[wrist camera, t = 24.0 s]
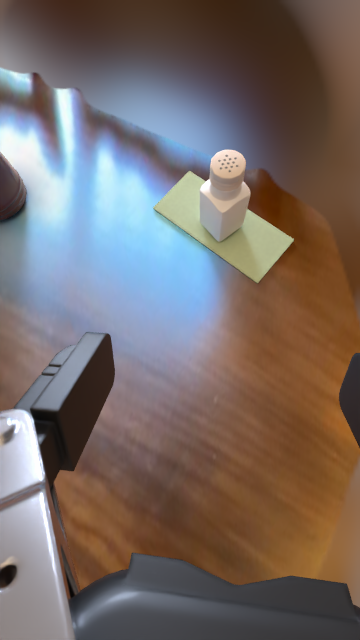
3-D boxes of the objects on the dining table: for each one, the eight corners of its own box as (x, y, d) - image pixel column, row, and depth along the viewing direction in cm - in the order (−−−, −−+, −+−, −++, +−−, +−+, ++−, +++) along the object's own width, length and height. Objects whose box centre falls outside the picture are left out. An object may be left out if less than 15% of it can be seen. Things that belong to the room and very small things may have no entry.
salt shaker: (223, 204, 37) (231, 138, 27) (244, 226, 36) (260, 165, 26) (197, 222, 36) (196, 161, 27) (218, 245, 35) (225, 190, 26)
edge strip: (293, 240, 35) (294, 239, 35) (257, 283, 34) (257, 283, 33) (189, 171, 38) (189, 170, 38) (153, 208, 37) (153, 207, 37)
